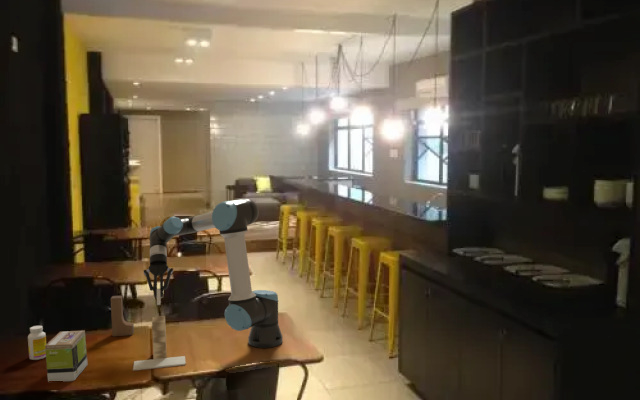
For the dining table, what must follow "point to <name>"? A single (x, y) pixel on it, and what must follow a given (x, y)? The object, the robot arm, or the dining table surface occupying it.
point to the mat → (159, 363)
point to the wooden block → (119, 318)
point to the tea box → (66, 356)
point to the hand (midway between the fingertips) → (158, 303)
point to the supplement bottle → (36, 343)
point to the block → (159, 337)
